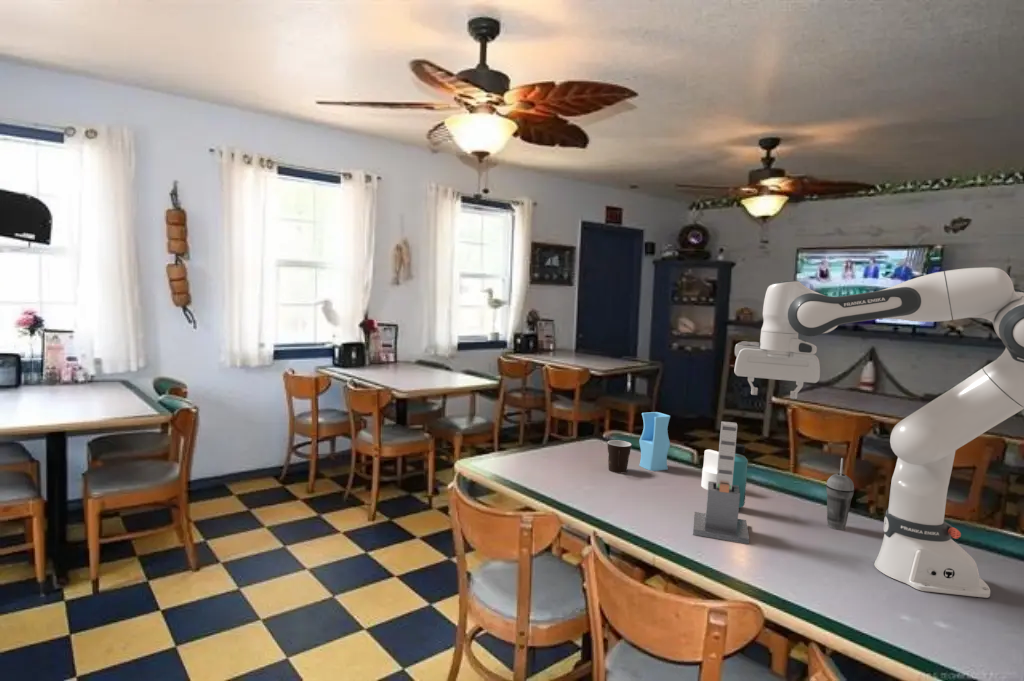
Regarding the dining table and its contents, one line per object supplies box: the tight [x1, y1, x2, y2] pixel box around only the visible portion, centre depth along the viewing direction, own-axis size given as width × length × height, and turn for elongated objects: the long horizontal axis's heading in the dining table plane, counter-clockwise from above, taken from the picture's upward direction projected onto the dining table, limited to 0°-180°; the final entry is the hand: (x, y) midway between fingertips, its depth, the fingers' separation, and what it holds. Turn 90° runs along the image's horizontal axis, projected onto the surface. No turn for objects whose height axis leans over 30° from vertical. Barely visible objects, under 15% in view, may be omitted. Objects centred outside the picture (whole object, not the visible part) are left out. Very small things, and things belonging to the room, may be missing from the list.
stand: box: [692, 481, 750, 545], centre depth 163 cm, size 14×14×14 cm
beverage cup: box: [825, 457, 855, 531], centre depth 170 cm, size 7×7×20 cm
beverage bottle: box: [732, 443, 749, 508], centre depth 181 cm, size 6×7×20 cm
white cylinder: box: [700, 448, 719, 491], centre depth 201 cm, size 9×9×12 cm
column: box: [716, 420, 738, 492], centre depth 162 cm, size 4×4×22 cm
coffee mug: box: [606, 439, 632, 474], centre depth 213 cm, size 12×9×10 cm
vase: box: [638, 411, 671, 472], centre depth 221 cm, size 8×8×20 cm
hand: (773, 396), depth 154 cm, fingers open, 8 cm apart
